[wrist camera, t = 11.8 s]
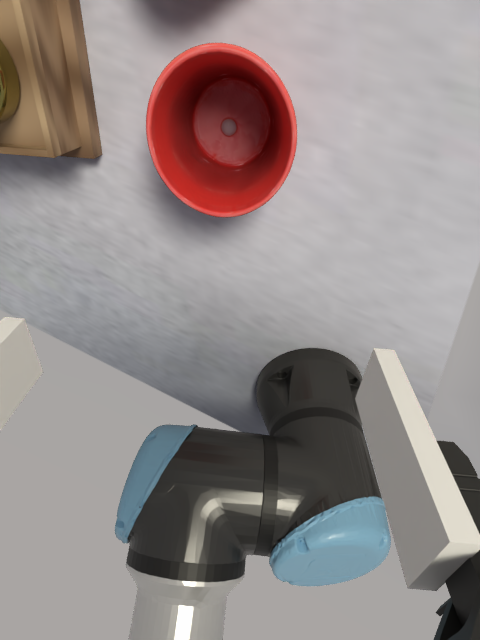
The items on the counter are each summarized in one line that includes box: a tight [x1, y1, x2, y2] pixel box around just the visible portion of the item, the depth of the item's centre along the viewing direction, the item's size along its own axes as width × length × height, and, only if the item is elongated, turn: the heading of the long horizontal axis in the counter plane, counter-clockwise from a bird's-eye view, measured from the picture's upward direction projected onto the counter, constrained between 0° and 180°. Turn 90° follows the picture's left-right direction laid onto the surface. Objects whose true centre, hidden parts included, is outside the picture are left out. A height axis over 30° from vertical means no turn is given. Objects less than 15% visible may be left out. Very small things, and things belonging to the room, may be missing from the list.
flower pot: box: [146, 43, 297, 217], centre depth 29 cm, size 11×11×10 cm
